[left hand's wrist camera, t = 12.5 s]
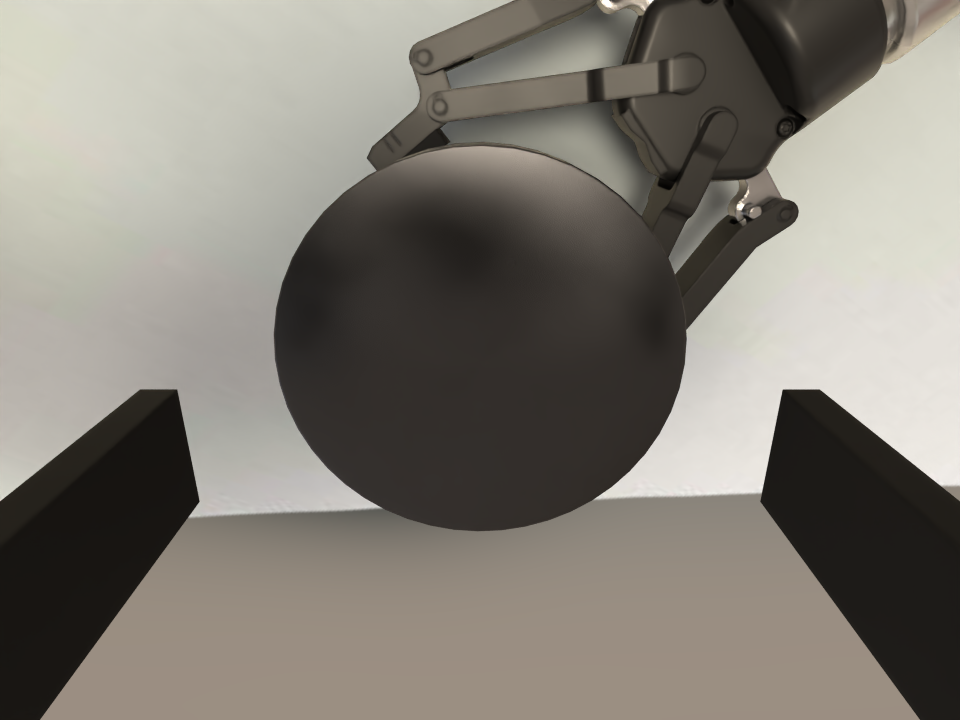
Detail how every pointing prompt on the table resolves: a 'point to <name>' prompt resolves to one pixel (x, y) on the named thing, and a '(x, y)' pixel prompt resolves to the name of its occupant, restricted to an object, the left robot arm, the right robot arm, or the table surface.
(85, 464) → the left robot arm
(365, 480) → the lid
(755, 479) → the table surface
